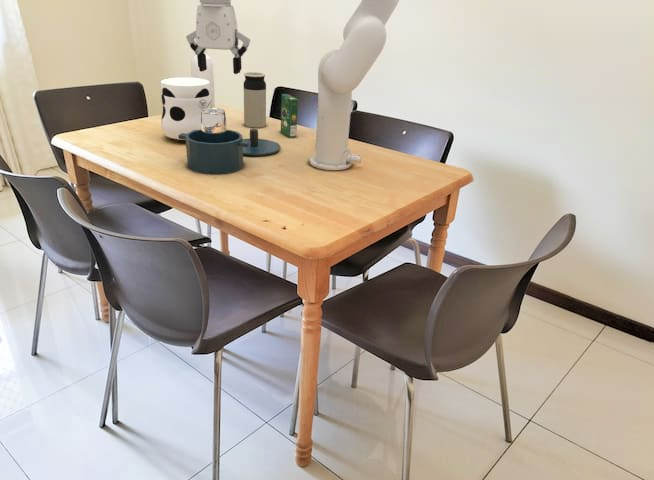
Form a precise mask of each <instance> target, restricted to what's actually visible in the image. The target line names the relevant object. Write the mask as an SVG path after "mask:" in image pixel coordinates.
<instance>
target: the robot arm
mask: <svg viewBox="0 0 654 480" xmlns="http://www.w3.org/2000/svg"><path fill="white" fill-rule="evenodd" d="M399 1H400V0H361V1H360V3H359V4H358V6H357V7H356V9H355V11H354V12H353V13H352V15H351V16H350V18H349V19H348V20H347V22H346V24H345V26H344V28H343V32H342V37H343V42H342V44H341V46H340V47H339V49H332V50H329V51H327V52H326V53H325V54H324V55H323V56H322V57H321V59H320V61H319V63H318V68H317V88H318V89H317V93H318V94H317V110H316V112H317V116H316V129H315V131H316V132H315V133H316V134H315V148H314V149H315V151H314V155H313V156H311V157H309V164H310V165H311V166H312V167H314V168H316V169H320V170H325V171H343V170H346V169H349V168H351V167H352V165H353V162H354V163H358V164H361V163H362V157H363V156H362V155H360V154H358V153H352V152H351V148H350V147H349V138H350V137H349V134H350V124H351V113H352V104H353V103H352V101H353V91H354V90H356V88H357V87H358V86H359V85H361V83H362V81H363V80H364V78H365V77H366V75H367V74H368V72H369V71H370V69H371V68H372V66H373V65H374V63H375V62H376V60H377V59H378V58H379V56H380V55H381V53H382V51H383V50H384V47H385V45H386V42H387V29H386V25H387V23H388V21H389V20H390V18H391V16H392V14H394V11H395V9H396V7H397V6H398V4H399ZM199 3H200V4H197V7H196V15H195V16H196V19H195V30H194V31H192V32H191V33H188V35H186V37H185V38H186V41H187V43H188V44H189V47H190V48H191V50H192V51H193V52H194V55H195V54H196V55H197V59H198V67H199V70H200V71H205V70H207V65H206V55H205V54H204V51H205V50H206V51H207V49H208V50H220V51H221V50H222V51H223V50H224V51H227V50H228V51H229V50H230V52H231V53H232V55H233V56H234V57H233V58H232V67H233V68H232V70H233V71H232V72H233V74H234V75H238V74H240V73H241V71H242V68H243V67H242V57H243V55H245V53H246V52H247V51H248V48H249V46H250V43H251V39H250V38H249V37H247V36H246V35H244V34H243V33H241V32H240V31H239V30H238V22H237V16H236V10H235V7H234V5H232V0H199ZM195 37H196V40H197V44H196V43H195ZM239 41H241V42H242V45H241V47H239Z"/></svg>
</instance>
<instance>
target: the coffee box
mask: <svg viewBox="0 0 654 480" xmlns="http://www.w3.org/2000/svg"><path fill="white" fill-rule="evenodd" d="M280 103H281V104H280V106H281V107H280V109H281V110H280V132H281V133H282V134H284V135H286V136H287V137H288V138H296V137H297V129H298V128H297V127H298V126H297V125H298V108H299V107H298V106H299V99H298V98H296V97H295V96H293V95H292V94H289V93H282V94H281V101H280Z"/></svg>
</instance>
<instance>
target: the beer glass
mask: <svg viewBox="0 0 654 480" xmlns="http://www.w3.org/2000/svg"><path fill="white" fill-rule="evenodd" d="M226 116H227V115H226V109H224V108H220V107H215V108H205V109H202V110H201V131H202V136H203V141H204V143H225V140H226V130H227V117H226Z"/></svg>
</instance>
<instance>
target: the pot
mask: <svg viewBox="0 0 654 480" xmlns="http://www.w3.org/2000/svg"><path fill="white" fill-rule="evenodd" d="M178 136H179V139H185V140H186V142H185V147H186V160H187V161H186V162H187V167H188V169H189V170H191V171H193V172H195V173H198V174H205V175H225V174H226V175H227V174H230V173H235V172H237V171H239V170H242V168H243V166H244V154H243V147H249V146H250V145H251V142H250V141H242V139H243V134H242V133H240V132H238V131H236V130H231V129H226V140H225V143H204V141H203V136H202V131H201V130H196V131H192V132H190V133H188V134H184V133H182V134H180V135H178Z"/></svg>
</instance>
